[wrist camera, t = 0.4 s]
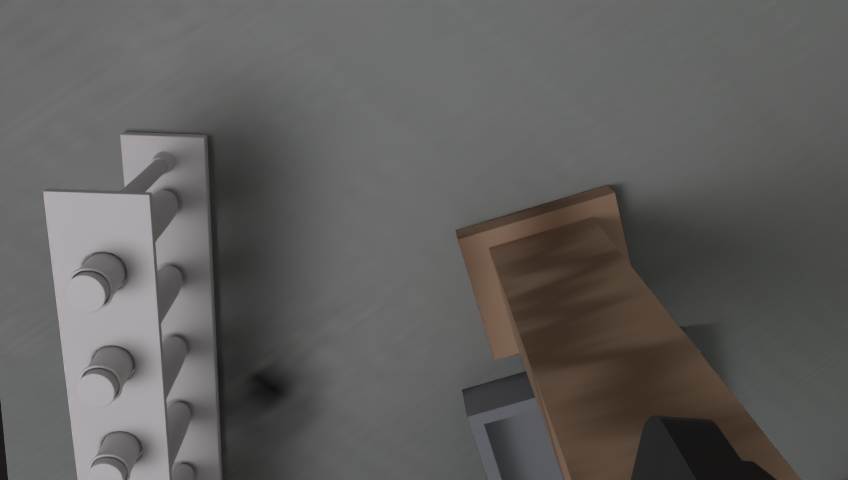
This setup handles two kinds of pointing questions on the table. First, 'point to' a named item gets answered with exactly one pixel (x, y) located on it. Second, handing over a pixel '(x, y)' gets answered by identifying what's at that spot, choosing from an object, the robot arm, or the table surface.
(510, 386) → the parts tray
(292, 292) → the table surface
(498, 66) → the table surface
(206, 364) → the test tube rack
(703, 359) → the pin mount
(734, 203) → the table surface
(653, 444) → the robot arm
